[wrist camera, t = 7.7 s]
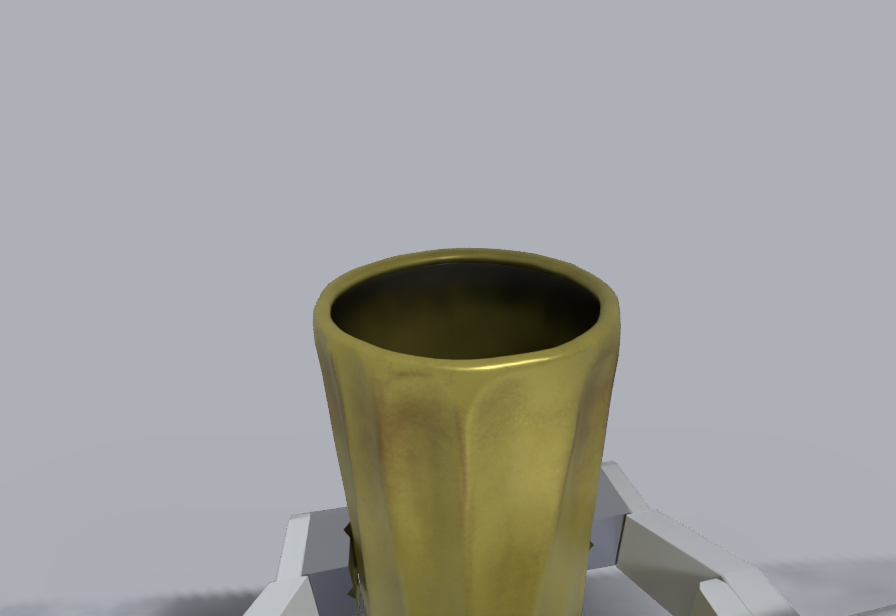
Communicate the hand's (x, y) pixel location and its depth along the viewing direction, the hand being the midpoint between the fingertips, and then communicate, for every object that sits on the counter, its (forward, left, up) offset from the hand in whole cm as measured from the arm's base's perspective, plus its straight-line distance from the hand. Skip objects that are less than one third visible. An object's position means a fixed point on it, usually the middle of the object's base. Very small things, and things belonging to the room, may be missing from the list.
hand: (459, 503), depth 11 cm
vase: (-1, +1, -8) cm, 8 cm away
